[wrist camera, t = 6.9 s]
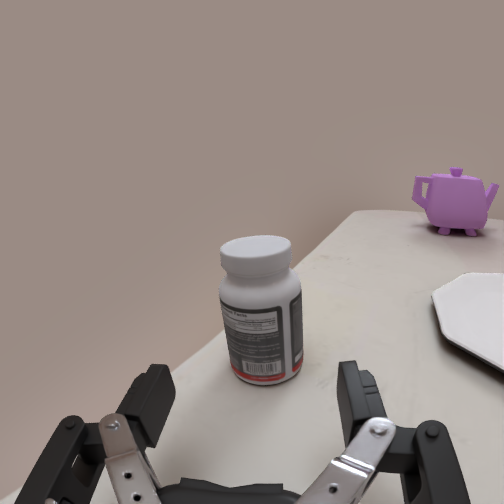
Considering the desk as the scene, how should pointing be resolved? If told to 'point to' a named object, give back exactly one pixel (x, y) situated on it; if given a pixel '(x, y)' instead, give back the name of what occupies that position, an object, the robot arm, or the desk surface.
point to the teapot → (455, 201)
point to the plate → (474, 315)
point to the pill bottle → (261, 309)
